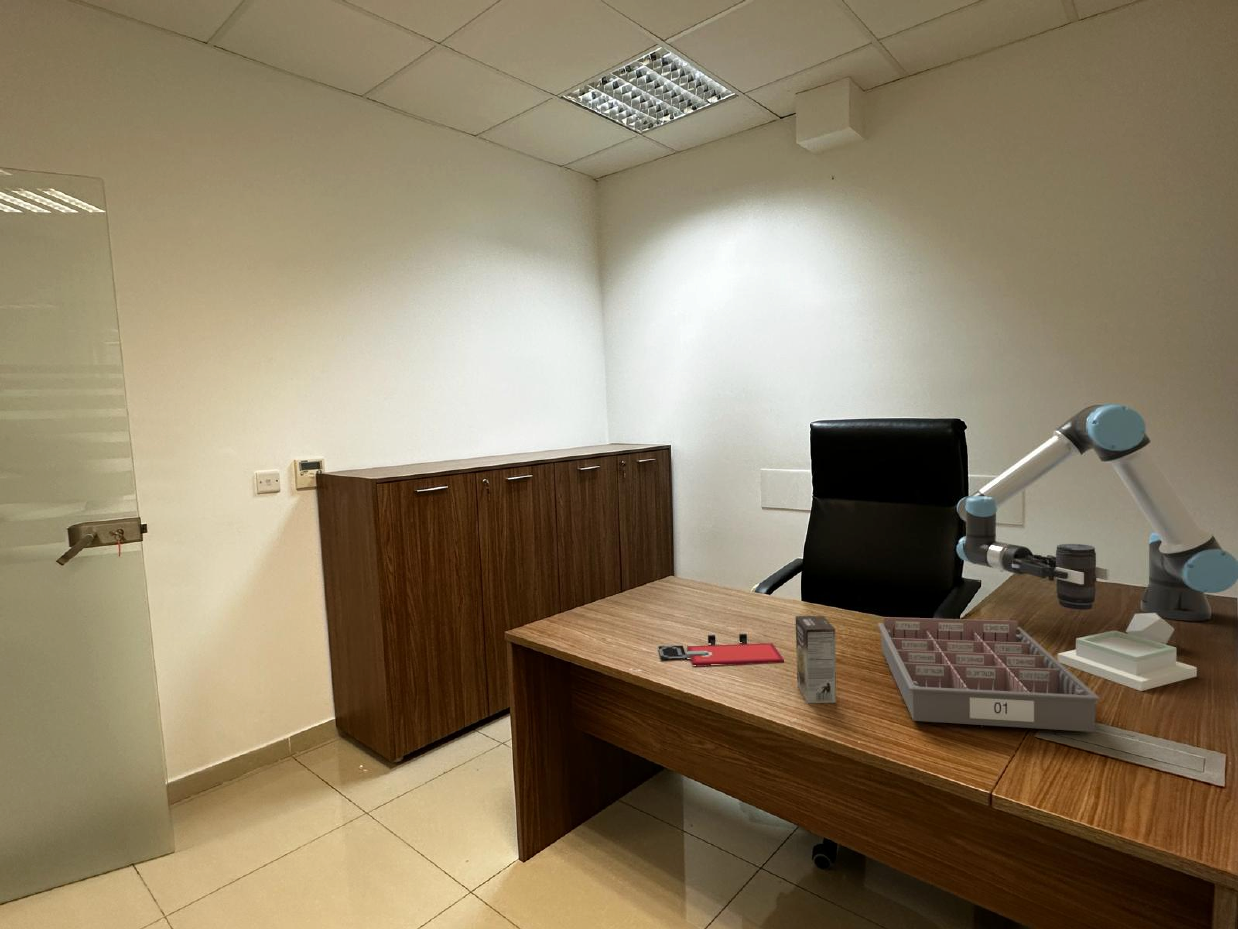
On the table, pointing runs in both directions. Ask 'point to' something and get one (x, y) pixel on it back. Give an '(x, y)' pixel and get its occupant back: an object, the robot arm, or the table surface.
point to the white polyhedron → (1150, 627)
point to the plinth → (1128, 677)
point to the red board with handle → (724, 652)
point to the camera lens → (1080, 561)
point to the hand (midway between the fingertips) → (1095, 576)
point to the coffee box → (816, 659)
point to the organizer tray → (983, 675)
